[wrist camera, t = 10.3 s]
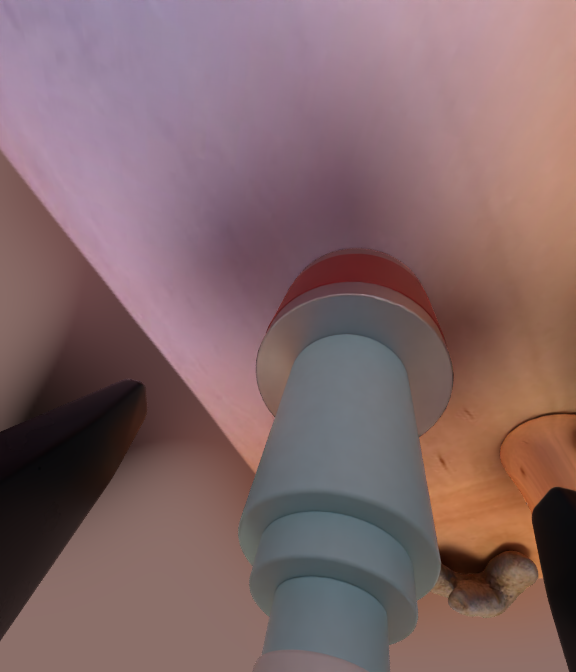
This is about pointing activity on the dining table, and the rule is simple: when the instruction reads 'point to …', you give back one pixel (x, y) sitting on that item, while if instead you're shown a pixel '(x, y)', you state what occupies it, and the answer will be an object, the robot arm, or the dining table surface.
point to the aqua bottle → (340, 513)
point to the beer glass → (541, 456)
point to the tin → (360, 325)
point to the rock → (487, 585)
